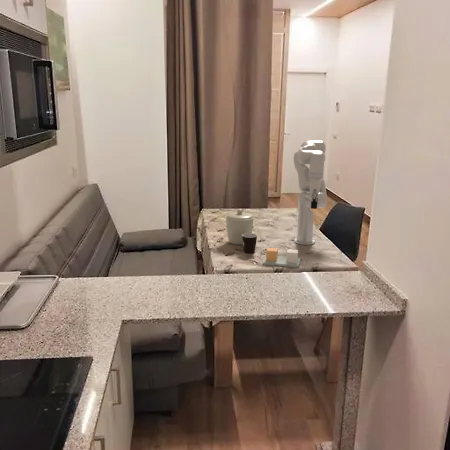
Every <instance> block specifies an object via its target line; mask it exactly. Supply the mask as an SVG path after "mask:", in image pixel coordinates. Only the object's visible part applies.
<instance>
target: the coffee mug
mask: <svg viewBox="0 0 450 450" xmlns="http://www.w3.org/2000/svg"><path fill="white" fill-rule="evenodd" d="M242 239H243V245H242V248H243V253H244V254H246V255H252V254H255V253H256V247H257V239H258V234H256V233H246V234H243V235H242Z"/></svg>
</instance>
